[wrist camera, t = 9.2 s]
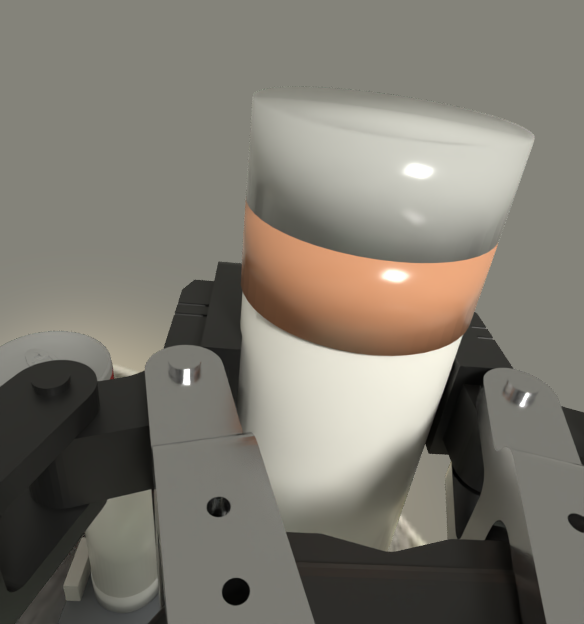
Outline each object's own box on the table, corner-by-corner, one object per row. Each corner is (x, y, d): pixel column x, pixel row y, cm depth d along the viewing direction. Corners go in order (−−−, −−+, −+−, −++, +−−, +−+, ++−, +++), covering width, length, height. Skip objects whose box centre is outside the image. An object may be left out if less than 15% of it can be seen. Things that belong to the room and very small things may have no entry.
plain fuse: (83, 611, 29) (52, 449, 22) (105, 545, 32) (84, 387, 25) (156, 614, 29) (148, 456, 22) (170, 548, 32) (167, 394, 26)
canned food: (65, 429, 42) (46, 317, 36) (144, 466, 40) (138, 353, 34) (-18, 496, 36) (-56, 375, 30) (71, 545, 33) (48, 424, 28)
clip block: (52, 661, 28) (44, 633, 26) (98, 531, 34) (94, 502, 33) (375, 675, 29) (385, 649, 27) (357, 546, 36) (365, 519, 34)
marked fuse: (211, 680, 12) (245, 123, 6) (225, 530, 16) (256, 78, 9) (376, 683, 13) (595, 162, 6) (354, 535, 16) (475, 103, 9)
